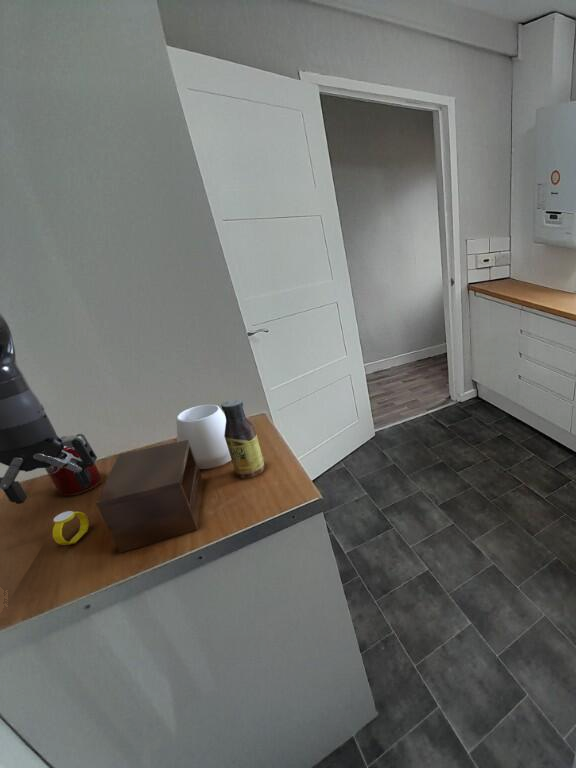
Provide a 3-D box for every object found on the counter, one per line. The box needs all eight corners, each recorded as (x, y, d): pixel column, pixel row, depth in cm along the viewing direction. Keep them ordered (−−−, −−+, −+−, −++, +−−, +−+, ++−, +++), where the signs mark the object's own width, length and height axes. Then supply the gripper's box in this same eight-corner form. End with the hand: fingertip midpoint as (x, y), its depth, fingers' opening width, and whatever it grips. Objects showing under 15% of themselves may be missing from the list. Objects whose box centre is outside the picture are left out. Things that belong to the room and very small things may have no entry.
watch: (82, 527, 83) (69, 505, 81) (97, 526, 84) (84, 504, 81) (56, 551, 78) (41, 527, 75) (72, 549, 78) (58, 526, 76)
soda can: (61, 501, 91) (34, 457, 85) (59, 486, 95) (33, 443, 90) (104, 486, 95) (82, 443, 90) (101, 472, 100) (79, 431, 95)
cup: (174, 462, 105) (155, 415, 99) (231, 439, 115) (216, 395, 109) (196, 482, 98) (177, 432, 92) (255, 455, 108) (240, 409, 102)
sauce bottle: (231, 476, 100) (205, 405, 91) (254, 462, 105) (232, 393, 97) (250, 483, 98) (226, 410, 89) (272, 468, 103) (252, 398, 95)
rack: (120, 553, 78) (95, 503, 73) (138, 499, 92) (118, 454, 87) (197, 530, 83) (179, 482, 79) (203, 482, 97) (188, 439, 93)
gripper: (-64, 439, 64) (-10, 519, 70) (62, 416, 70) (100, 492, 77) (-38, 418, 69) (9, 495, 76) (76, 400, 76) (110, 471, 83)
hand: (55, 493), depth 76 cm, fingers open, 8 cm apart
